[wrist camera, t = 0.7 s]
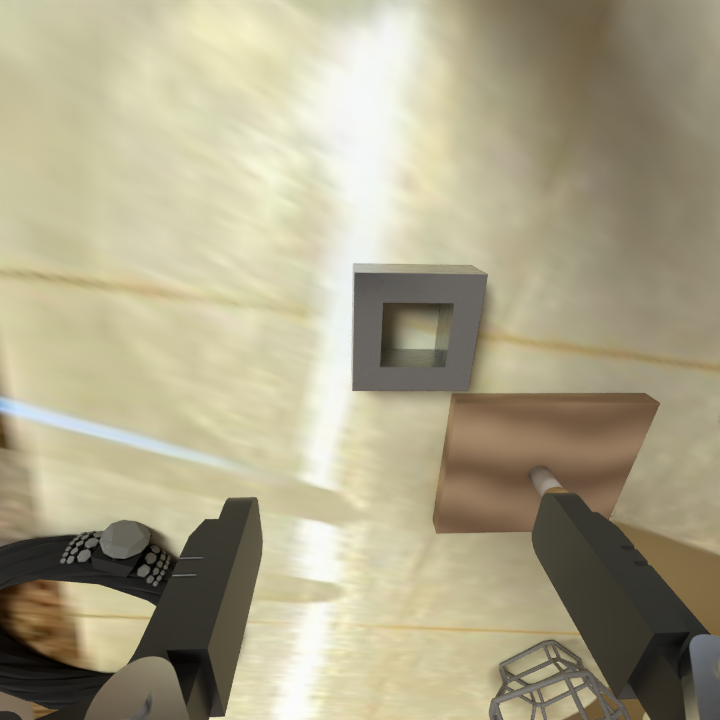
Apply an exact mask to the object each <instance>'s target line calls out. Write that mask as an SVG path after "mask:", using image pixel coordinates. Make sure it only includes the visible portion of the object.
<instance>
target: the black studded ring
mask: <svg viewBox="0 0 720 720" xmlns="http://www.w3.org/2000/svg"><path fill="white" fill-rule="evenodd" d="M94 532H95V531H93V532H88V533H87V534H86V532H84V533H81V534H80V535H78V536H61V537H51V538H42V539H30V540H23V541H19V542H16V543H12V544H9V545H5V546H2V547H0V589H3V588H5V587H8V586H11V585H16V584H20V583H24V582H29V581H33V580H38V579H44V580H56V581H67V582H79V583H90V584H99V585H103V586H106V587H109V588H112V589H115V590H118V591H121V592H124V593H127V594H130V595H133V596H136V597H139V598H142V599H145V600H148V601H149V602H151V603H152V604H154V605H155V606H157V605H158V602H159V600H160V598H161V596H162V594H163V592H164V590H165V587H166V585H167V583H168V581H169V579H170V578H171V577H172V572H173V570H174V568H175V566H176V564H174V563H172V562H170V558H171V557H170V555H166V552H165V551H164V550H162V551H161V550H160V549H159V548H158V546H156V545H152V546H150V548H149V549H148V550H147V549H145V547H146V546H147V545H148V543H149V540H150V538H151V536H152V535H151V534H150V532H149V530H148V527H146V526H144V525H142V524H140V523H138V522H135V521H127V520H122V521H119V522H116V523H113V524H111V525H110V526H109V527H108V528H107V529H106V530H105V531H100V532H96V533H94ZM158 552H159V553H158ZM165 555H166V557H165ZM113 675H114V674H104V673H100V672H95V671H83V670H77V669H73V668H71V667H68V666H66V665H63V664H60V663H57V662H53V661H49V660H46V659H42V658H39V657H38V656H36V655H35V654H34V653H32V652H31V651H29V650H27V649H26V648H24V647H23V646H22V645H21V644H19V643H17V642H15V641H13V640H11V639H9V638H8V637H7V636H6V635H5V634H4V633H3V632H2V630H1V628H0V691H1V692H4V693H6V694H9V695H12V696H15V697H18V698H20V699H23V700H25V701H32V702H34V703H36V704H39V705H41V706H44V707H46V708H48V709H55V710H60V709H63V708H65V707H68V706H70V705H73V704H75V703H78V702H80V701H82V700H84V699H87V698H88V697H90V696H92V695H93V694H95V693H97V692H98V691H99V690H100V689H101V688H102V686H103V685H104V684H105V683H106V682H107V681H108V680H109V679H110V678H111V677H112V676H113Z"/></svg>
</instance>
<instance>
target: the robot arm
mask: <svg viewBox="0 0 720 720" xmlns="http://www.w3.org/2000/svg"><path fill="white" fill-rule="evenodd" d="M532 542H533V547H534V550H535V553H536V555H537V557H538V559H539V561H540V563H541V564H542V566H543V568H544V570H545V572H546V573H547V575H548V577H549V579H550V580H551V582H552V584H553V586H554V588H555V589H556V591H557V593H558V595H559V597H560V598H561V600H562V602H563V604H564V606H565V607H566V609H567V611H568V613H569V615H570V616H571V618H572V620H573V622H574V624H575V625H576V627H577V629H578V631H579V633H580V634H581V636H582V638H583V640H584V642H585V643H586V645H587V647H588V649H589V650H590V652H591V654H592V656H593V658H594V659H595V661H596V663H597V665H598V667H599V668H600V670H601V672H602V674H603V676H604V677H605V679H606V681H607V683H608V685H609V686H610V688H611V690H612V692H613V694H614V695H615V697H616V699H617V700H620V699H638V700H639V701H640V703H641V705H642V706H643V708H644V710H645V711H646V712H645V713H644V716H643V720H720V637H717V636H713V635H711V634H710V633H709V632H708V631H707V630H706V629H705V628H704V626H703V625H702V624H701V623H700V622H699V621H698V619H697V618H696V617H695V616H694V615H693V614H692V612H691V611H690V610H689V609H688V608H687V607H686V606H685V604H684V603H683V602H682V601H681V600H680V599H679V597H678V596H677V595H676V594H675V593H674V592H673V590H672V589H671V588H670V587H669V586H668V585H667V583H666V582H665V581H664V580H663V579H662V578H661V576H660V575H659V574H658V573H657V572H656V571H655V570H654V568H653V567H652V566H649V565H648V563H647V561H646V559H645V558H644V557H643V556H642V555H641V554H640V552H639V551H638V550H635V548H634V545H633V544H632V543H631V542H630V540H629V539H628V538H627V537H626V536H625V535H624V534H623V532H622V531H621V530H620V529H619V528H618V527H617V526H616V525H614V524H613V523H612V522H610V521H609V520H608V519H606V518H605V517H604V516H602V515H601V514H600V513H598V512H592V511H591V510H590V508H589V507H588V506H587V505H586V504H585V502H584V501H583V500H582V499H581V497H580V496H579V495H577V494H576V493H573V492H563V493H545V494H544V495H543V496H542V499H541V503H540V506H539V510H538V513H537V516H536V520H535V523H534V527H533V530H532ZM262 543H263V540H262V530H261V522H260V514H259V506H258V500H257V498H256V497H247V498H228V499H227V500H226V502H225V504H224V506H223V509H222V512H221V514H220V517H219V519H205V520H204V521H203V522H202V523H201V524H200V526H199V527H198V528H197V529H196V530H195V531H194V532H193V533H192V534H191V535H190V536H189V538H188V540H187V542H186V544H185V547H184V549H183V551H182V553H181V555H180V560H179V561H178V562H177V564H176V566H175V568H174V570H173V572H172V577H171V578H170V579H169V581H168V583H167V585H166V587H165V590H164V592H163V594H162V596H161V598H160V600H159V602H158V605H157V607H156V609H155V611H154V613H153V615H152V617H151V620H150V622H149V624H148V626H147V628H146V630H145V632H144V635H143V637H142V639H141V641H140V643H139V645H138V647H137V649H136V651H135V653H134V655H133V656H132V658H131V659H130V661H129V662H128V664H127V665H126V666H124V667H123V668H122V669H120V670H119V671H118V672H116V673H115V674H114V675H113V676H112V677H111V678H110V679H109V680H108V681H107V682H106V683H105V684H104V685H103V686H102V688H101V689H100V690H99V691H98V692H97V693H95V694H93V695H92V696H90V697H88V698H87V699H84V700H82V701H80V702H78V703H75V704H73V705H70V706H68V707H65V708H63V709H60V710H58V711H55V712H53V713H50V714H48V715H45V716H43V717H40V718H38V719H35V720H209V717H223V716H225V713H226V709H227V704H228V700H229V696H230V691H231V687H232V683H233V678H234V674H235V670H236V666H237V661H238V657H239V653H240V648H241V644H242V640H243V635H244V631H245V627H246V622H247V618H248V614H249V609H250V605H251V601H252V596H253V592H254V588H255V583H256V579H257V575H258V571H259V566H260V562H261V556H262ZM0 720H22V719H21V717H20V716H19V715H17V714H16V713H14V712H9V711H0Z"/></svg>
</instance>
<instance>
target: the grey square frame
mask: <svg viewBox="0 0 720 720" xmlns="http://www.w3.org/2000/svg"><path fill="white" fill-rule="evenodd" d="M487 276H488V274H486V273H484V272H483V271H481V270H479V269H477V268H475V267H474V266H472V265H417V264H353V302H352V391H468V386H469V380H470V375H471V369H472V363H473V357H474V351H475V346H476V340H477V334H478V328H479V323H480V317H481V311H482V305H483V300H484V294H485V288H486V282H487ZM383 303H440V311H439V320H438V328H437V336H436V344H435V350H412V349H381V337H382V317H383Z"/></svg>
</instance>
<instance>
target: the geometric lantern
mask: <svg viewBox="0 0 720 720" xmlns="http://www.w3.org/2000/svg"><path fill="white" fill-rule="evenodd" d="M550 644H551V645H552V647H553V650H554V652H555V654H556V656H557V657H556V658H551V656H550V654H549V652H548V649H547V647H546V645H550ZM555 645H556V646H557V647H558V648H560V649H561V650H563V651H564V652H566V653H567V654H568V655H570V656H571V657H573V658H574V659H575V660H577V661H578V664H577V665H576V664H574V663H572V662H569V661H567V660H565V659H562V658H561V657H560V655H559V653H558V651H557V649H556V647H555ZM541 647H543V648H544V650H545V652H546V655H547V657H548V659H549V661H546V662H544V663H542V664H540V665H538V666H535V667H533V668H531V669H529V670H527V671H525V672H522V673H520V674H518V675H516V676H513V675H511V674H509V673H508V672H506V671H505V670H504V668H503V667H504V666H506V665H508V664H510V663H512V662H514V661H516V660H518V659H520V658H522V657H524V656H525V655H527V654H529V653H531V652H533V651H535V650H537V649H539V648H541ZM558 661H559V662H561V663H562V664H564V665H565V666H566V667H568V669H566V670H563V669H562V668H561V667H560V666H559V664H558V663H557V662H558ZM552 663H553V664H554V665H555V666H556V667H557V668H558V669H559V670H560V673H558V674H556V675H554V676H552V677H550V678H547V679H544V680H542V681H539V682H536V683H534V684H526V683H524V682H523V681H521V680H519V678H521V677H524V676H526V675H528V674H530V673H532V672H535V671H537V670H539V669H541V668H543V667H546V666H548V665H550V664H552ZM576 669H578V670H579V671H577V670H576ZM571 671H573V672H571ZM500 674H501V677H502V681H503V684H502V686H501V688H500V690H499V691H498V693H497V695H496V697H495V698H493V699H492V700H491V704H490V709H489V717H490V720H503V718H502V715H501V712H500V709H499V705H500V703H501V702H504V701H507V700H510V699H512V698H515V697H520V698H522V699H524V700H525V701H527V702H529V703H530V704H532V705H533V710H532V715H531V720H534V718H535V712H536V706H539V707H541V709H542V713H543V717H544V720H547V717H546V713H545V709H544V707H546V706H548V705H550V704H552V703H554V702H556V701H558V700H560V699H562V698H564V697H566V696H569V695H572V697H573V699H574V701H575V703H576V705H577V708H578V710H579V712H580V714H581V716H582V719H583V720H589V719H588V717H587V714H586V712H585V710H584V708H583V706H582V704H581V702H580V700H579V698H578V695H577V693H576V692H577V691H579V690H581V689H583V688H585V687H588V688H589V689H590V690H591V691H592V692H593V693H594V694H595V695H596V696H597V699H598V701H599V703H600V705H601V708H602V710H603V712H604V714H605V717H602V718H599V719H597V720H618V717H619V716H620V715H621V714H622V713H623V715H624V717H625V719H626V720H631V719H630V716H629V714H628V712H627V710H626V708H625V706H624V704H623V703H622V702H620V701H619V700H617V699H616V697H615V696H614V695H613V694H612V693H611V692H610V691H609V690H608V689H607V688H606V687H605V686H604V685H603V684H602V683H601V682H600V681H599V680H598V679H597V678H596V677H595V676H594V675H593V674H592V673H591V672H590V671H589V670H587V669H585V668H584V667H583V665H582V663H581V659H579V658H578V657H576V656H575V655H574V654H572V653H571V652H569V651H568V650H567V649H565V648H564V647H562V646H561V645H560V644H558V643H557V642H555V641H554V640H550V641H545V642H542V643H540V644H538V645H536V646H534V647H532V648H530V649H528V650H526V651H524V652H523V653H521V654H519V655H517V656H515V657H513V658H511V659H509V660H507V661H505V662H503V663H501V664H500ZM506 675H507V676H508V677H510V678H509V679H508V678H507V676H506ZM578 677H581V678H582V680H583V682H584V683H583V684H581V685H579V686H577V687H575V688H574V687H573V685H572V683H571V681H570V678H578ZM562 680H565V682H566V684H567V686H568V688H569V691H567V692H565V693H563V694H561V695H559V696H557V697H555V698H553V699H551V700H548V701H546V702H544V700H543V697H542V694H541V692H540V688H543V687H545V686H548V685H551V684H554V683H556V682H559V681H562ZM512 681H517V682H519V683H520V684H522V685H524V686H525V687H523V688H520V689H517V690H513V689H511V688H509V687H508V686H507V684H508V683H510V682H512ZM589 684H591V685H592V687H593V688H592V687H591V686H590V685H589ZM506 690H508V691H510V692H509V693H507V694H504V693H505V691H506ZM534 690H537V692H538V694H539V697H540V700H541V703H537V702H536V701H535V698H534V695H533V693H532V691H534ZM600 691H601V692H602V693H603V694H605V695H606V696H608V697H609V698H610V699H612V700H613V701H614V702H615V703H616V704H617V705H618V706H619V707H618V708H617V709H616V710H615V711H614V710H613V709H612V708H611V707H610V706H609V705H608V704H607V702H606V701H605V700H604V699H603V697H602V695H601V693H600ZM529 692H530V695H531V698H532V700H530V699H528V698H527V697H525V696H523V694H526V693H529ZM608 709H609V710H610V711H611V712H612V714H610V713H609V711H608ZM496 714H497V715H496Z"/></svg>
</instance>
